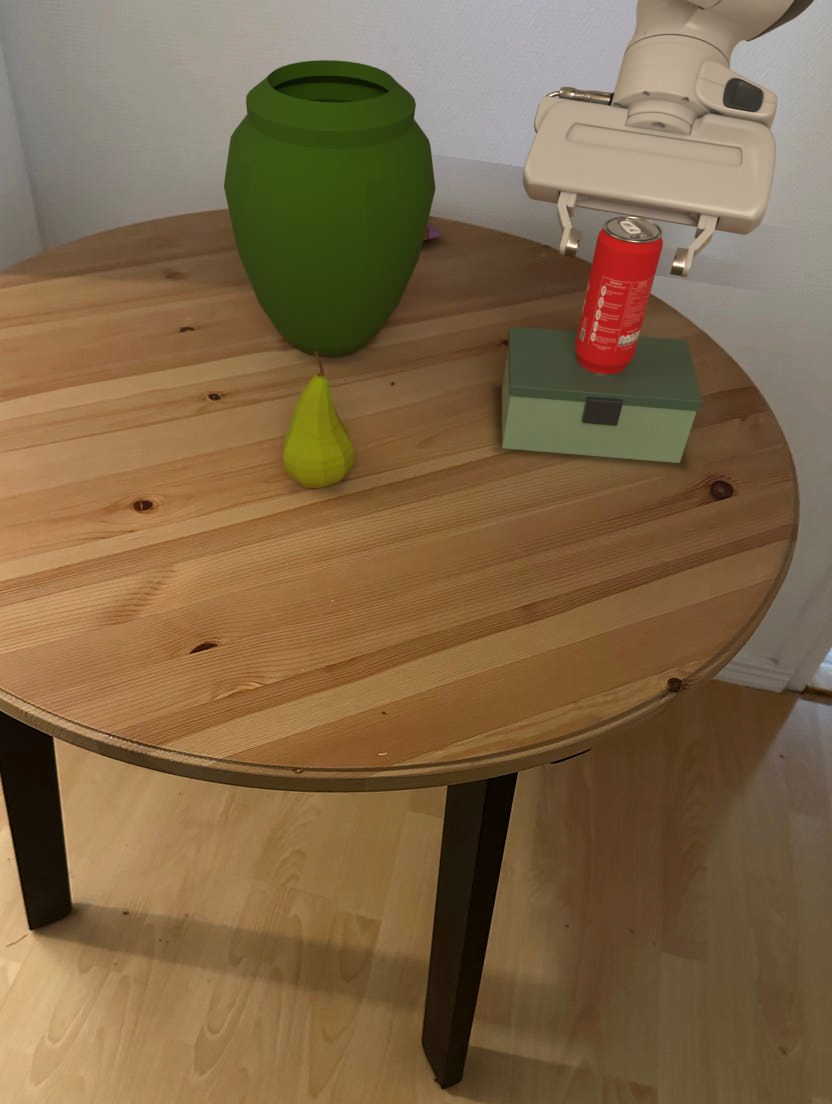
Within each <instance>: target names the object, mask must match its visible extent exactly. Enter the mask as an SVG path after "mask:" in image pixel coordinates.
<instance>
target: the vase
mask: <svg viewBox="0 0 832 1104" xmlns="http://www.w3.org/2000/svg"><path fill="white" fill-rule="evenodd" d="M245 105H246V106H245V107H246V115H244V117H243V118H242V120H241V121H240V122H239V124H238V125H237V127H236V128H235V129H234V131H233V132H232V134H231V135H230V138H229V146H228V153H227V154H228V155H227V160H226V165H225V166H226V167H225V175H224V180H223V181H224V182H223V188H224V194H225V199H226V203H227V207H228V213H229V217H230V222H231V227H232V231H233V236H234V240H235V246H236V250H237V253H238V255H239V257H240V261H241V263H242V266H243V268H244V270H245V274H246V275H247V277H248V278H247V279H248V280H249V282H250V285H251V287H252V290H253V293H254V294H255V296H256V299H257V302H258V304H259V306H260V307H261V308H262V310H263V312H264V313H265V315H266V316H267V318H268V319H269V321H270V322H271V324H272V325H273V327H274V328H275V329H276V330H277V332H278V333H279V334H280V335H281V336H282V337H283V338H284V339H285V340H286V341H287V342H288V343H289V344H290V345H291V346H293V348H295V349H297V350H298V351H301V352H303V353H306V354H308V355H313V356H315V354H314V352H315V351H317V353H318V356H319V357H341V356H345V355H349V354H353V353H355V352H358V351H359V350H361V349H363V348H364V347H365V346H366V345H367V344H369V343H370V341H372V340H373V339H374V338H375V337H376V336H377V335H378V334H379V333H380V331H381V330H382V329H383V327H384V326H385V324H386V323H387V322H388V320H389V319H390V318H391V316H392V315H393V314H394V312H395V310H396V309H397V308H398V306H399V305H400V302H401V300H402V297H403V296H404V294H405V292H406V289H407V287H408V284H409V282H410V279H411V277H412V276H413V273H414V271H415V269H416V267H417V264H418V262H419V260H420V256H421V252H422V248H423V243H424V241H425V240H424V235H425V231H426V227H427V223H429V218H430V214H431V209H432V206H433V201H434V198H435V193H436V182H435V174H434V164H433V156H432V147H431V143H430V139H429V138H428V136H427V135H426V134H425V132H424V130H423V129H422V128H421V126H420V125H419V124H418V122H417V121H416V118H415V113H416V107H417V103H416V98H415V97H414V96H413V95H412V93H410V92H409V91H408V90H407V89H406V88H405V87H404V86H402V84H400V83H399V81H397V80H396V79H395V78H394V77H393V76H392V75H391V74H389V73H388V72H386V71H385V70H383V69H381V68H378V67H375V66H373V65H369V64H364V63H360V62H353V61H347V60H335V59H334V60H333V59H332V60H331V59H329V60H328V59H327V60H326V59H321V60H320V59H319V60H317V59H316V60H307V61H305V60H304V61H298V62H294V63H289V64H286V65H283V66H280V67H277V68H276V69H274V70H273V71H271V72H270V73H269V74H268V75H267V76H266V77H264V79H262V80H261V81H260V82H259V83H257V84H255V86H254V87H252V88H251V89H250V90H249V91H248V93H247V95H246V97H245ZM423 240H424V241H423Z"/></svg>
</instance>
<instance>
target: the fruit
mask: <svg viewBox="0 0 832 1104" xmlns="http://www.w3.org/2000/svg"><path fill="white" fill-rule="evenodd" d="M314 354H315V355H314V356H315V358H316V361H317V364H318V365H319V366H318V367H319V372H317V373H315V374H314V375H313V376H312V378H311V379H310V381H309V382H308V384H307V385H305V387H304V389H302V391H301V393H300V395H299V397H298V399H297V401H296V404H295V405H294V409H293V412H292V415H291V419H290V423H289V426H288V429H287V432H286V434H285V436H284V438H283V442H282V462H283V469H284V471H285V473H286V475H287V476H288V477H289V478H290V479H291V480H293V481H294V482H296V483H297V484H298V485H300V486H302V487H303V488H308V489H323V488H325V487H329V486H332V485H334V484H337V483H339V482H341V481H342V480H343V479H344V477H345V476H346V475H347V474H348V473H349V472H350V471H351V470H352V468H353V466H354V463H355V449H354V446H353V442H352V440H351V437H350V433H349V430H348V428H347V427H346V425H345V423H344V422H343V421H342V419H341V418H340V417H339V414H338V412H337V410H336V408H335V405H334V401H333V396H332V392H331V387H330V384H329V381H328V379H327V377H326V375H325V371H324V367H323V364H322V361H321V359H320V358H321V357H320V356H318V353H317V351H315V352H314Z"/></svg>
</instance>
